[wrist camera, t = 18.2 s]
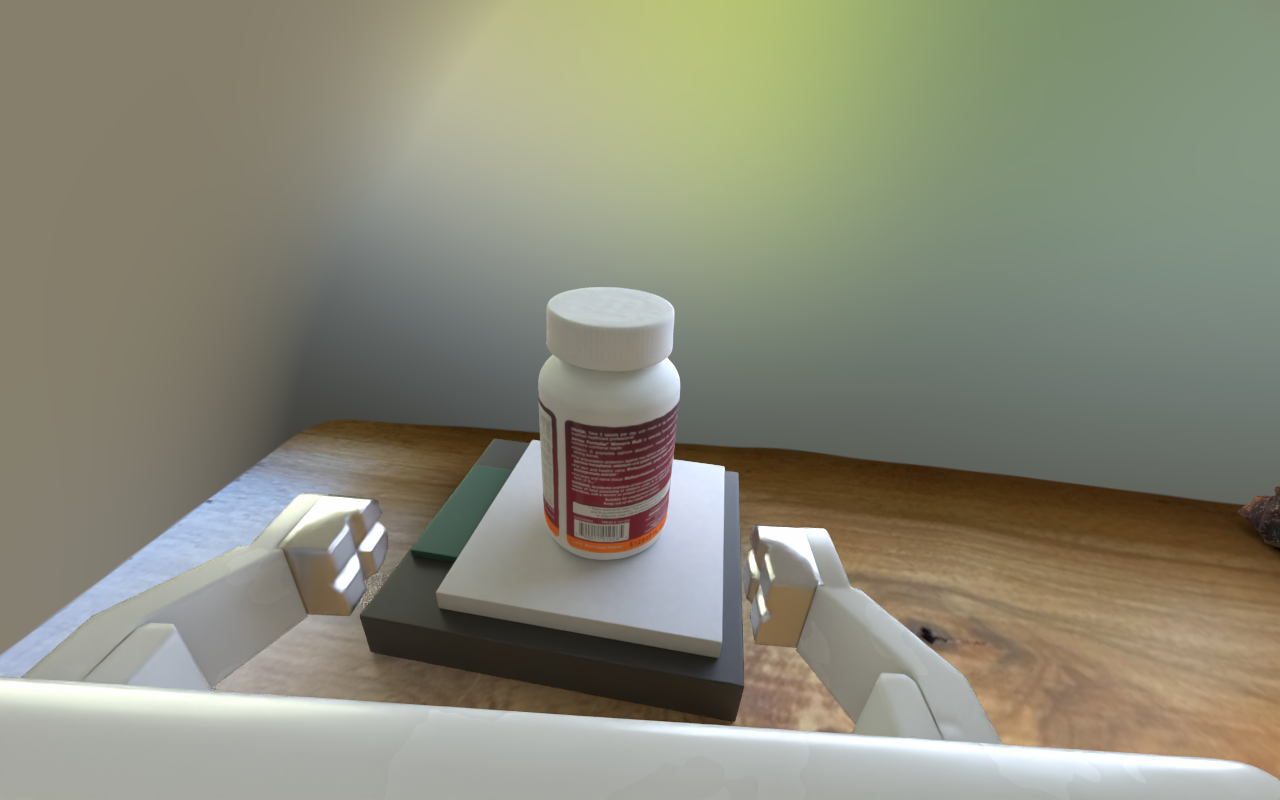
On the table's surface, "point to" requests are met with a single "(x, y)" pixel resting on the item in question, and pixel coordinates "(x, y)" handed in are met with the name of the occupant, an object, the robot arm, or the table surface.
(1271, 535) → the lashed bone hook
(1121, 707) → the table surface
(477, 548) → the scale
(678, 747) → the robot arm
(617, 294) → the pill bottle
